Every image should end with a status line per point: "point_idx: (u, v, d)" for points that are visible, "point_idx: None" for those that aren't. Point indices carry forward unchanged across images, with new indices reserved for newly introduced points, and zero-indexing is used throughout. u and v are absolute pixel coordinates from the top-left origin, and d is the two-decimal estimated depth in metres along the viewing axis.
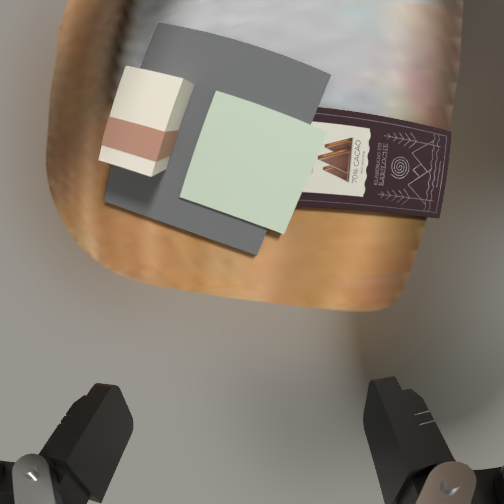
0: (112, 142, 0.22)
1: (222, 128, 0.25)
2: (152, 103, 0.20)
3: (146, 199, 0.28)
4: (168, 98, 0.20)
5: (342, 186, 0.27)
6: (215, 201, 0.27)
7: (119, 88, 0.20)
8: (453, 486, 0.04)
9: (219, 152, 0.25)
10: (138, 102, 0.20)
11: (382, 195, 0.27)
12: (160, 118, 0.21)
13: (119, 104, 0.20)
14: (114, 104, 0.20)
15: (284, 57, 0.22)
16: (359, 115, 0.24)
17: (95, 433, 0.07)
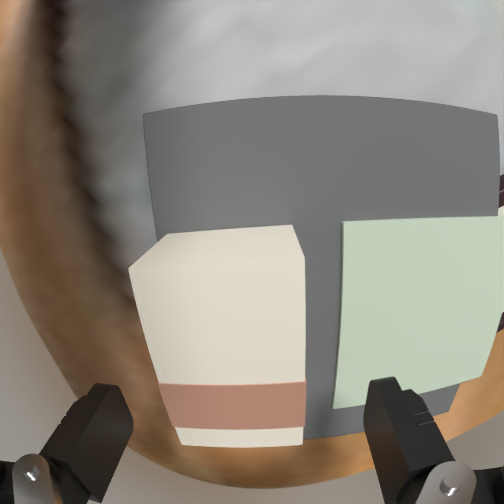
0: (194, 421, 0.10)
1: (379, 289, 0.12)
2: (249, 338, 0.09)
3: None
4: (285, 318, 0.09)
5: None
6: None
7: (145, 325, 0.09)
8: (453, 486, 0.04)
9: (383, 328, 0.13)
10: (211, 346, 0.09)
11: None
12: (284, 362, 0.09)
13: (167, 358, 0.09)
14: (155, 360, 0.09)
15: (430, 105, 0.10)
16: None
17: (95, 432, 0.07)
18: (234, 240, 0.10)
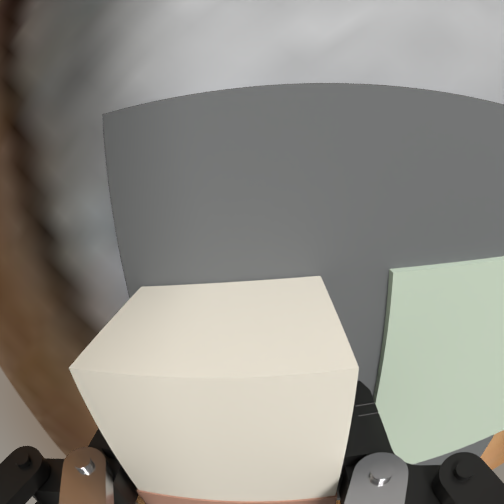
0: None
1: (428, 353, 0.08)
2: (260, 464, 0.05)
3: None
4: (317, 442, 0.05)
5: None
6: (423, 454, 0.10)
7: (108, 437, 0.05)
8: (381, 477, 0.04)
9: (426, 395, 0.09)
10: (204, 469, 0.05)
11: None
12: (309, 483, 0.05)
13: (145, 472, 0.05)
14: (129, 471, 0.06)
15: (498, 107, 0.06)
16: None
17: None
18: (236, 312, 0.07)
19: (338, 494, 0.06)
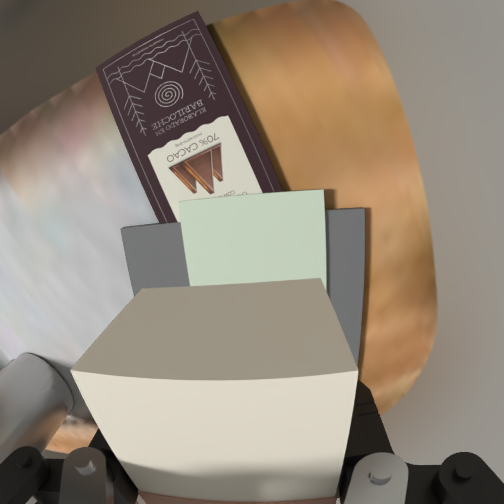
0: None
1: None
2: (260, 465, 0.05)
3: None
4: (316, 444, 0.05)
5: (230, 146, 0.20)
6: None
7: (109, 438, 0.05)
8: (381, 477, 0.04)
9: None
10: (204, 470, 0.05)
11: (212, 93, 0.19)
12: (309, 484, 0.05)
13: (146, 473, 0.06)
14: (130, 472, 0.06)
15: (132, 280, 0.23)
16: (140, 174, 0.21)
17: None
18: (236, 314, 0.07)
19: (338, 494, 0.06)
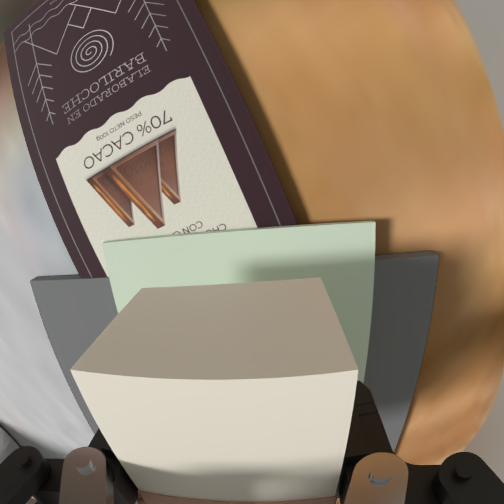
0: None
1: None
2: (260, 465, 0.05)
3: None
4: (316, 443, 0.05)
5: (193, 135, 0.10)
6: None
7: (109, 438, 0.05)
8: (381, 477, 0.04)
9: None
10: (204, 469, 0.05)
11: (163, 39, 0.09)
12: (309, 483, 0.05)
13: (146, 473, 0.06)
14: (130, 471, 0.06)
15: (57, 356, 0.13)
16: (47, 192, 0.11)
17: None
18: (236, 313, 0.07)
19: (338, 494, 0.06)
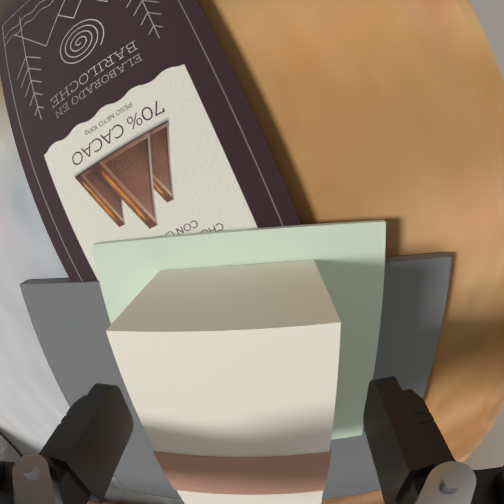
0: (198, 486, 0.08)
1: None
2: (264, 414, 0.07)
3: None
4: (310, 391, 0.06)
5: (187, 127, 0.09)
6: (354, 390, 0.11)
7: (133, 395, 0.07)
8: (453, 486, 0.04)
9: None
10: (216, 421, 0.07)
11: (156, 26, 0.08)
12: (306, 436, 0.07)
13: (163, 430, 0.07)
14: (149, 430, 0.07)
15: (49, 362, 0.12)
16: (35, 190, 0.10)
17: (95, 433, 0.07)
18: (243, 286, 0.08)
19: None
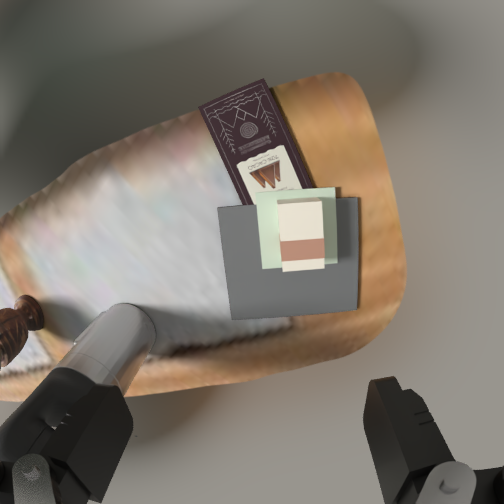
0: (289, 257, 0.36)
1: None
2: (308, 223, 0.35)
3: (346, 282, 0.41)
4: (317, 217, 0.35)
5: (284, 162, 0.37)
6: (331, 240, 0.39)
7: (280, 221, 0.35)
8: (453, 486, 0.04)
9: None
10: (298, 226, 0.35)
11: (274, 131, 0.36)
12: (317, 231, 0.35)
13: (285, 231, 0.35)
14: (281, 232, 0.35)
15: (222, 239, 0.40)
16: (232, 175, 0.38)
17: (95, 433, 0.07)
18: (301, 199, 0.36)
19: None
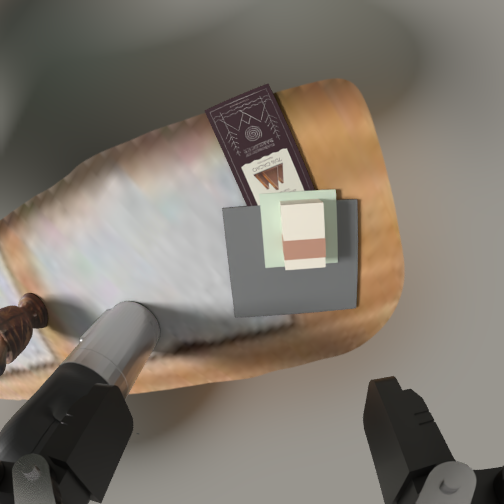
0: (292, 256, 0.38)
1: None
2: (310, 223, 0.36)
3: (346, 281, 0.43)
4: (319, 217, 0.36)
5: (287, 165, 0.39)
6: (332, 240, 0.41)
7: (283, 221, 0.36)
8: (453, 486, 0.04)
9: None
10: (300, 226, 0.36)
11: (278, 135, 0.38)
12: (319, 231, 0.37)
13: (288, 231, 0.37)
14: (284, 232, 0.37)
15: (226, 239, 0.42)
16: (236, 177, 0.40)
17: (95, 433, 0.07)
18: (303, 201, 0.38)
19: None
